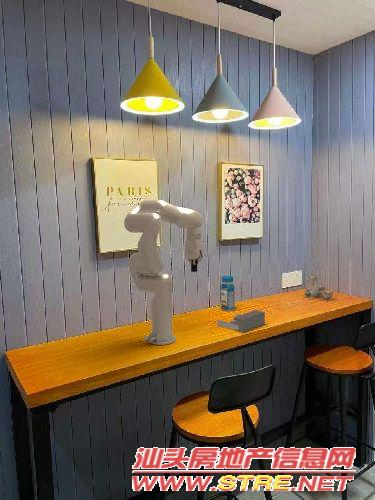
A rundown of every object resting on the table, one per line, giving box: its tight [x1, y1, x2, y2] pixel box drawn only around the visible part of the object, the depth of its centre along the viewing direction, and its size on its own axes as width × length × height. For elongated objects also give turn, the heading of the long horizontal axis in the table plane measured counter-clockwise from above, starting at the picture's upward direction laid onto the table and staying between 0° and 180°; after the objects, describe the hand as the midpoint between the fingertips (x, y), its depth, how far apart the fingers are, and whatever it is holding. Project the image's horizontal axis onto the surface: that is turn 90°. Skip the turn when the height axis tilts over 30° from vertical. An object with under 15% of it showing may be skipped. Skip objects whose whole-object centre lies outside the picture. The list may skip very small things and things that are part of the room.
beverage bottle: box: [220, 275, 236, 312], centre depth 222 cm, size 8×8×20 cm
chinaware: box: [304, 272, 334, 301], centre depth 247 cm, size 28×17×17 cm, turn 0°
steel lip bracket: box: [216, 309, 266, 333], centre depth 191 cm, size 18×18×6 cm
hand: (194, 271), depth 198 cm, fingers closed
